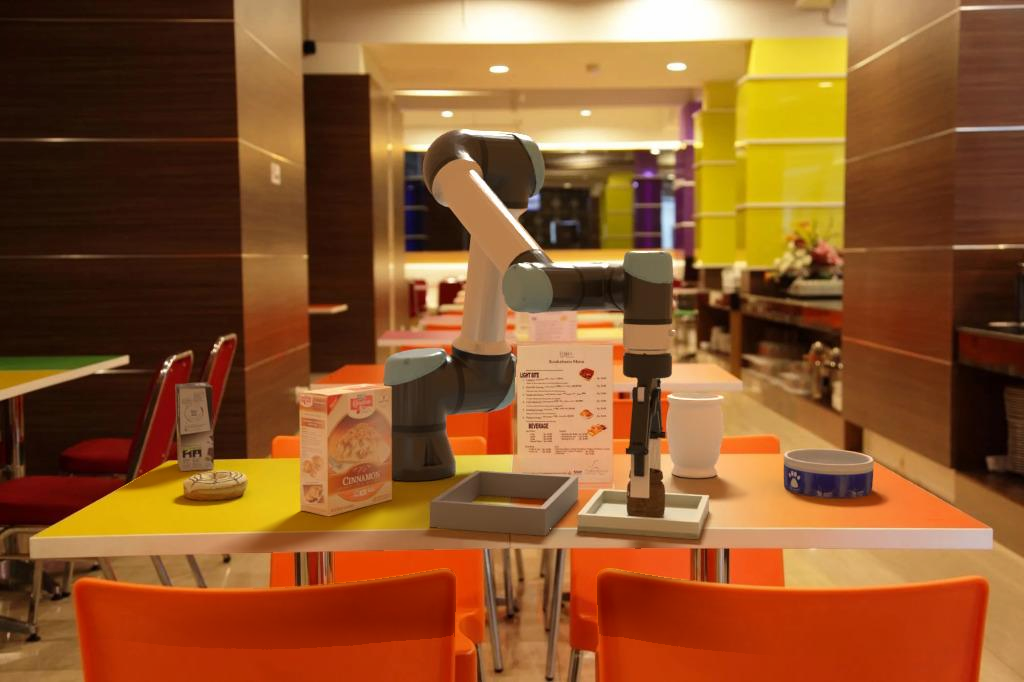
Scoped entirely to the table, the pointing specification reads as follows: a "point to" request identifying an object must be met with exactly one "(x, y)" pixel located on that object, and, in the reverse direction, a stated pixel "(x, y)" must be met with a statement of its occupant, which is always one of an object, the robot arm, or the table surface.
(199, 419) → the coffee box
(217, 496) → the decorated donut
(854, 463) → the dog bowl
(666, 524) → the tray
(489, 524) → the bottomless rectangular frame
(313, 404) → the coffeecake box
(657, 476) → the brown container
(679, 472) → the jar
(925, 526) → the table surface
